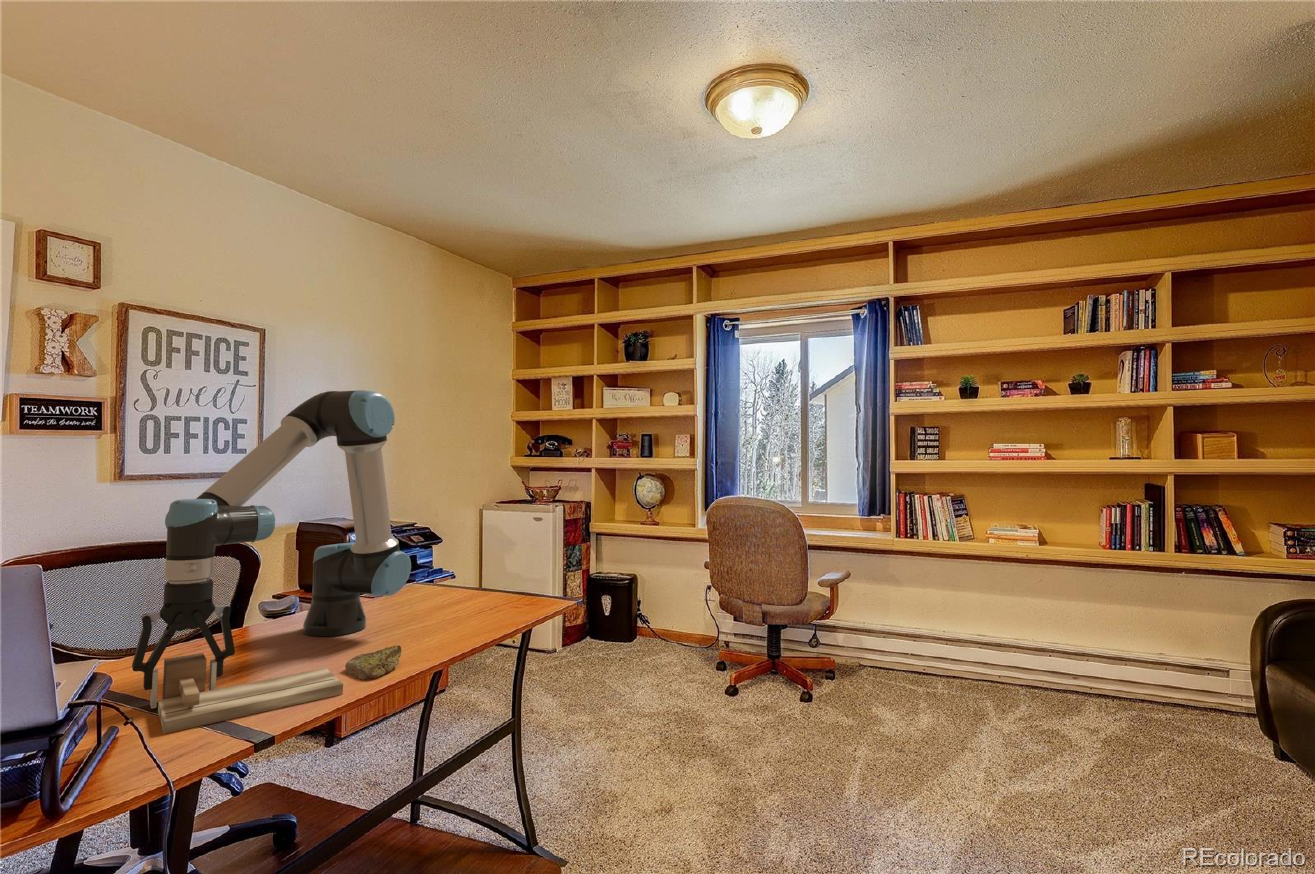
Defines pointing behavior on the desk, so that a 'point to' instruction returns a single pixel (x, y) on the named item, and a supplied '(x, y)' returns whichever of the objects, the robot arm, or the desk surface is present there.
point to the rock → (374, 663)
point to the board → (248, 699)
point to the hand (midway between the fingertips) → (183, 700)
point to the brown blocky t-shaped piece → (185, 678)
